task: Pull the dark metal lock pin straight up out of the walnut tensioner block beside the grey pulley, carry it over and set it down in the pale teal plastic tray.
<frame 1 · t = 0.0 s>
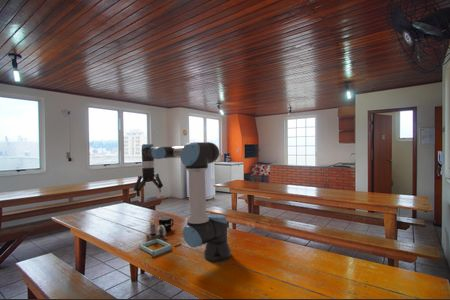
hand: (149, 199, 166), 28 cm above the table, fingers open, 13 cm apart
belt: (171, 243, 162), on the table
tray: (155, 249, 154), on the table
tensioner block: (155, 240, 169), on the table
mug: (167, 231, 186), on the table
pin: (153, 239, 167), point 1 cm above the table, touching tensioner block
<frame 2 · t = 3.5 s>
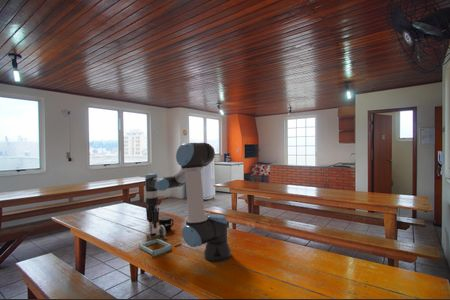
hand: (153, 232, 167), 6 cm above the table, fingers closed on pin, 3 cm apart
pin: (153, 239, 167), point 1 cm above the table, touching gripper
everything else where it was.
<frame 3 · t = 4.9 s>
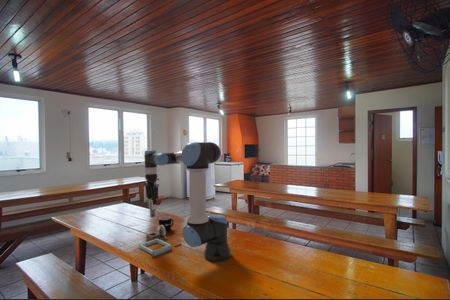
hand: (152, 208, 166), 22 cm above the table, fingers closed on pin, 3 cm apart
pin: (152, 216, 166), point 17 cm above the table, touching gripper
everything else where it was.
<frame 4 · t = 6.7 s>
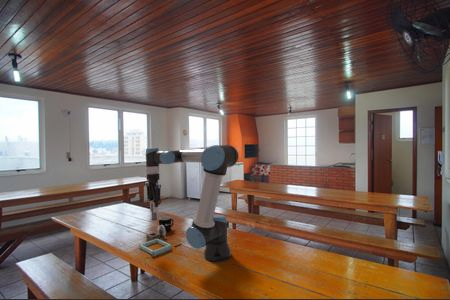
hand: (154, 211, 153), 23 cm above the table, fingers closed on pin, 3 cm apart
pin: (154, 219, 153), point 18 cm above the table, touching gripper
everything else where it was.
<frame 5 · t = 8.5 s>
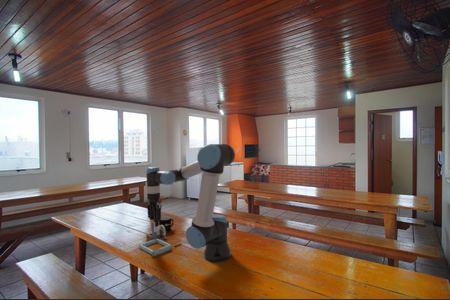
hand: (154, 230, 153), 12 cm above the table, fingers closed on pin, 3 cm apart
pin: (154, 238, 153), point 7 cm above the table, touching gripper
everything else where it was.
when the fingers open (7 cm above the table, at t = 10.2 s): pin stays where it is, resting on tray.
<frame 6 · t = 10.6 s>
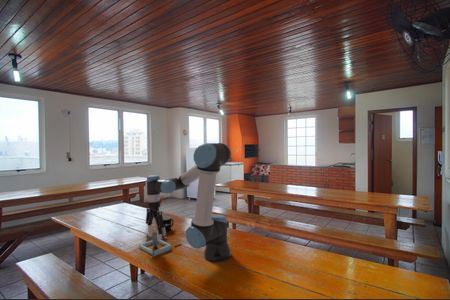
hand: (155, 237, 153), 8 cm above the table, fingers open, 9 cm apart
pin: (155, 248, 153), point 1 cm above the table, touching tray
everything else where it was.
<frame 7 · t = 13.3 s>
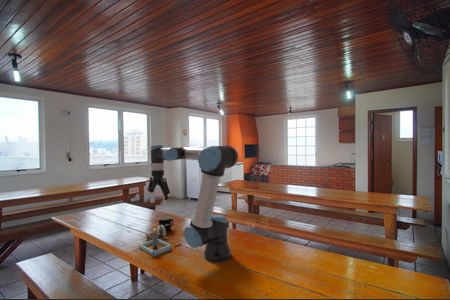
hand: (158, 203, 156), 27 cm above the table, fingers open, 13 cm apart
nothing on the table moved.
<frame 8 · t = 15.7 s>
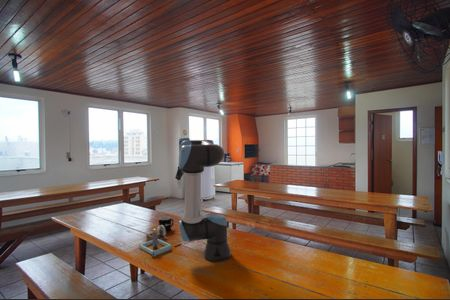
hand: (185, 189, 177), 32 cm above the table, fingers open, 13 cm apart
nothing on the table moved.
at the end: pin inside the target area on the tray (0.0 cm from its centre), point 0.6 cm above the tray's base; the gripper is holding nothing; pin moved 14.6 cm from its start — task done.
